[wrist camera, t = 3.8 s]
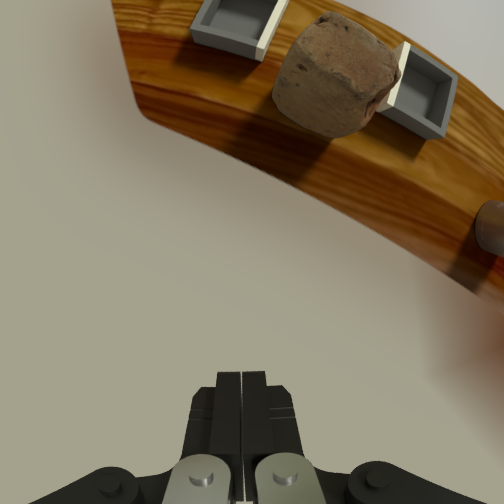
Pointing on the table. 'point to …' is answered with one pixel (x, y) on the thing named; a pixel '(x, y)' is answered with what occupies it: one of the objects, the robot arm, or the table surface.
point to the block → (334, 76)
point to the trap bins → (409, 58)
